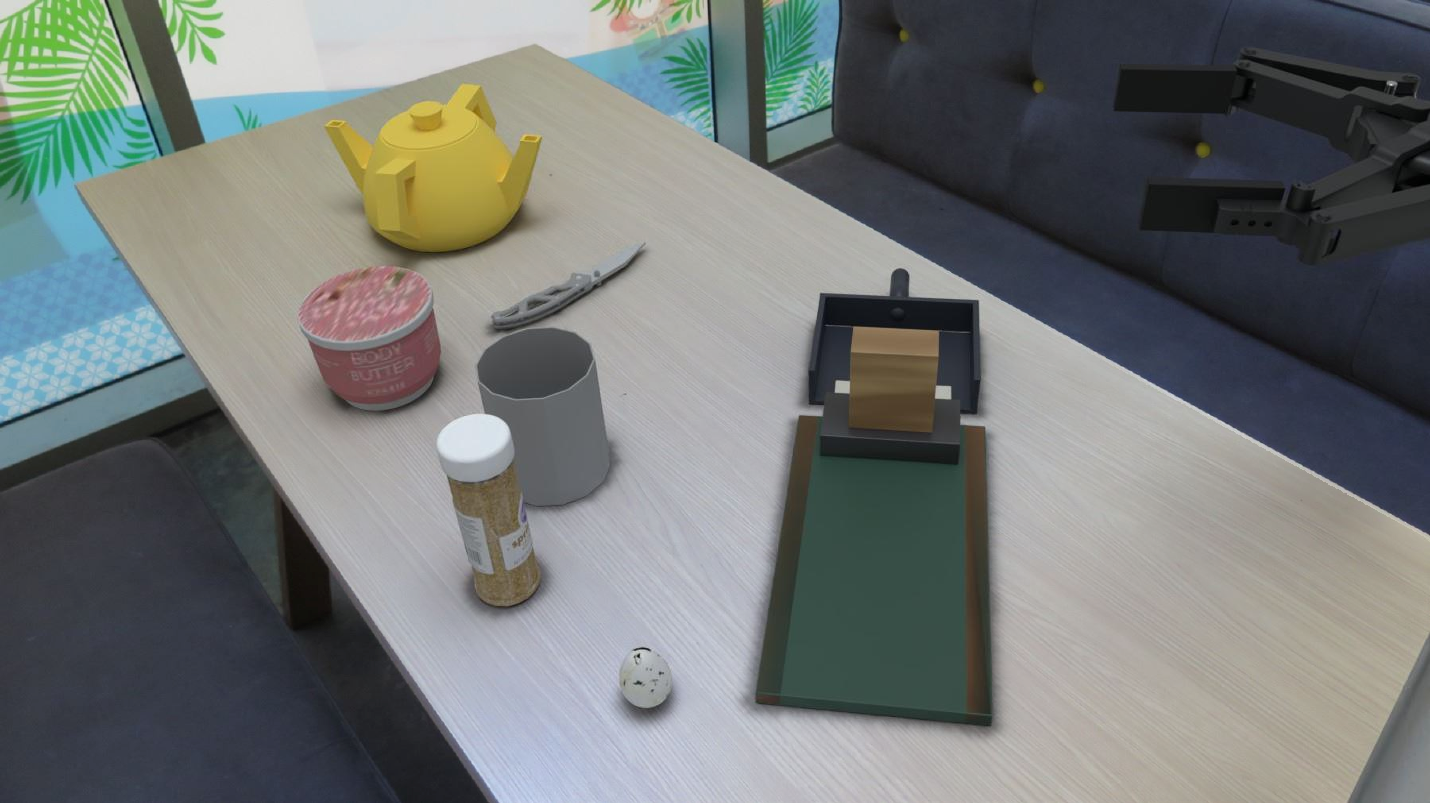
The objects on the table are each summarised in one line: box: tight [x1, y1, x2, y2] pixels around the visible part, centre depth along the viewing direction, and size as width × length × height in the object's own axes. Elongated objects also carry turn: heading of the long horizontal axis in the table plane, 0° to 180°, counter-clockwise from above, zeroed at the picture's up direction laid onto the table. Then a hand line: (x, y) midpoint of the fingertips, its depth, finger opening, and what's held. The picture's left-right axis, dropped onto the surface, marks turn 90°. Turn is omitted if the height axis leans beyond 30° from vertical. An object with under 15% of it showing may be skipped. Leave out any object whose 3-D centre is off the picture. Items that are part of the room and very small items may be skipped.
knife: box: [490, 242, 646, 330], centre depth 107 cm, size 2×18×3 cm
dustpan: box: [807, 267, 982, 415], centre depth 98 cm, size 16×13×3 cm
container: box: [297, 265, 442, 412], centre depth 97 cm, size 10×10×8 cm
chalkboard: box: [755, 414, 994, 726], centre depth 81 cm, size 26×14×1 cm, turn 171°
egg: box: [618, 646, 673, 709], centre depth 72 cm, size 3×3×5 cm
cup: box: [474, 326, 612, 507], centre depth 87 cm, size 8×8×10 cm
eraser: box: [820, 326, 961, 464], centre depth 86 cm, size 5×10×9 cm, turn 81°
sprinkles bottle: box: [435, 413, 542, 607], centre depth 77 cm, size 5×5×13 cm
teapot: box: [323, 83, 543, 253], centre depth 115 cm, size 17×17×12 cm
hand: (1128, 141), depth 67 cm, fingers open, 13 cm apart
